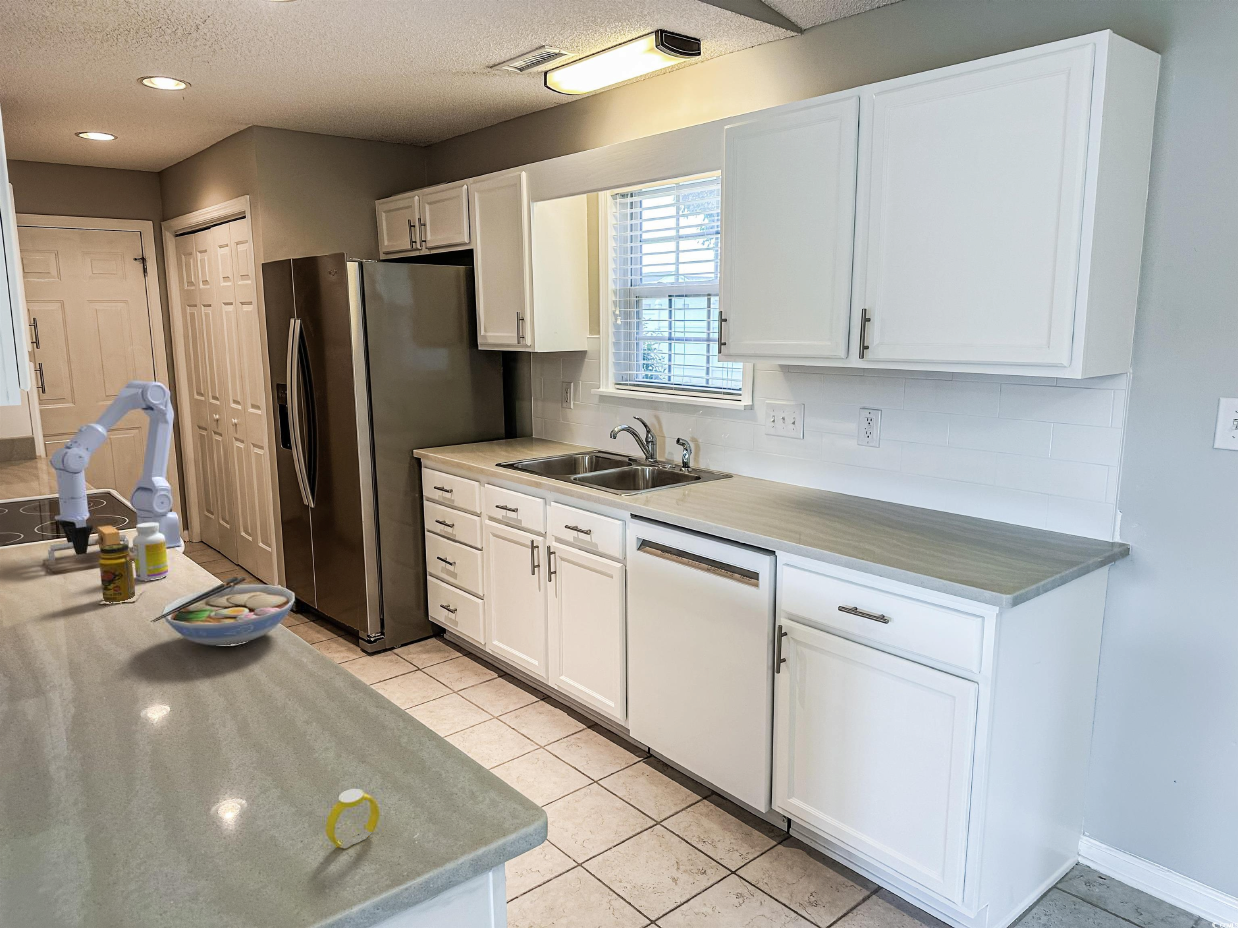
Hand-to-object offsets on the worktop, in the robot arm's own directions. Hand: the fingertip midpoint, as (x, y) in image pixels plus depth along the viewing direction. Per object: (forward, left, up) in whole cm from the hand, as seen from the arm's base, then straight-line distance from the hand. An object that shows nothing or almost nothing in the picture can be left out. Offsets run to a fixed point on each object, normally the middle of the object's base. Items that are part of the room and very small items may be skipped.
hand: (78, 550), depth 207 cm
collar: (-7, 0, -1) cm, 7 cm away
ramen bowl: (-11, +78, -4) cm, 78 cm away
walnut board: (-2, 0, -3) cm, 4 cm away
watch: (0, +152, -4) cm, 152 cm away
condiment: (-1, +36, -4) cm, 36 cm away
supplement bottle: (-10, +24, -4) cm, 26 cm away
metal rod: (-2, 0, -3) cm, 4 cm away
